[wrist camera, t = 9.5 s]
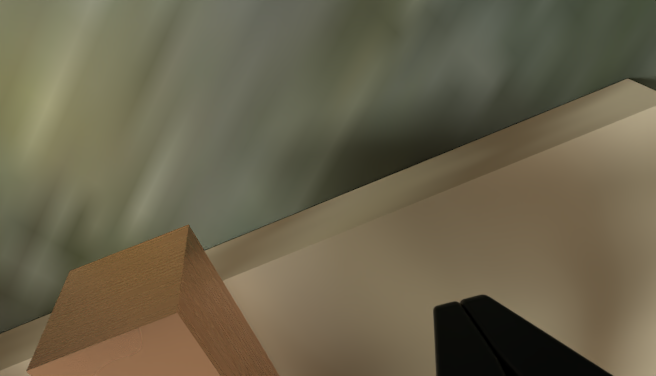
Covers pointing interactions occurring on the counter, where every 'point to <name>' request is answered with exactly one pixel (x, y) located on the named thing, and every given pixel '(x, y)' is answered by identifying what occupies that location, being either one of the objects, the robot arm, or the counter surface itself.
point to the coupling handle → (149, 318)
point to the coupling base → (460, 250)
